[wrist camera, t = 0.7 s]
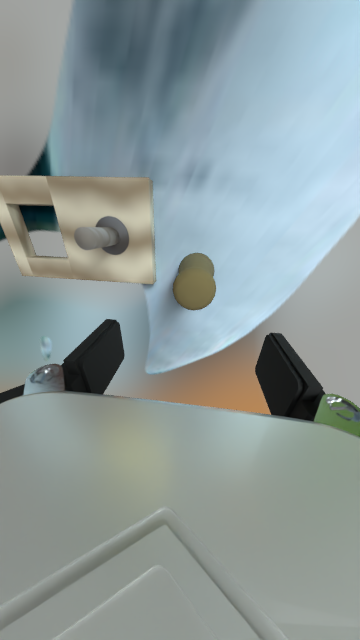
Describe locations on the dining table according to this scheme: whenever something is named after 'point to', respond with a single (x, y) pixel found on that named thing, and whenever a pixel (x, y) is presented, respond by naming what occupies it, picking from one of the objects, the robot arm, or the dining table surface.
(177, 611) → the robot arm
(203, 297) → the olive rounded piece
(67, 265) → the beige panel with knob
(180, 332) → the dining table surface
